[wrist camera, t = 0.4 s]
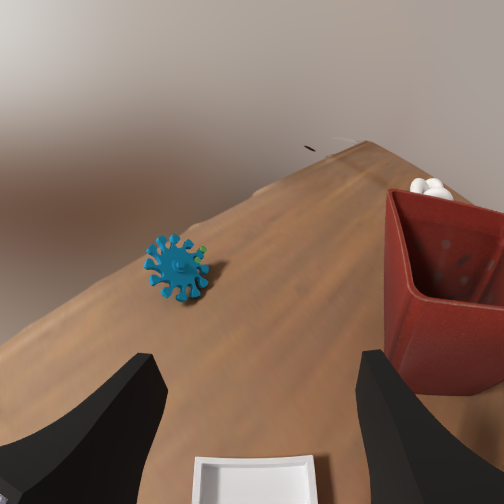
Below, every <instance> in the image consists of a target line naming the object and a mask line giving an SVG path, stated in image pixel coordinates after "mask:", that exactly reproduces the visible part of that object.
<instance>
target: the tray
mask: <svg viewBox="0 0 504 504" xmlns="http://www.w3.org/2000/svg"><path fill="white" fill-rule="evenodd" d="M192 504H318V500H317V490H316V479H315V470H314V460H313V455H308V456H296V457H282V458H254V459H236V458H208V457H195V467H194V480H193V494H192Z"/></svg>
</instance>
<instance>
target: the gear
mask: <svg viewBox="0 0 504 504" xmlns="http://www.w3.org/2000/svg"><path fill="white" fill-rule="evenodd" d="M179 240H180V237H179V236H178V235H175V234H173V235H172V236H171V237H170V242H171V246H170V249H168V248H166V247H165V243H166V241H167V239H166V237H165V236H160V237H158V239H156V242H157V244H158V245H159V247H160V249H161V255H159V254H158V253H157V247H156V246H155V245H154V244H152V245H151V246H150V247H149V248H148V249H147V250H146V252H147V253H148V254H149V255H151V256H153V257H154V258H155V259H156V260H157V262H158V264H159V265H155V263H154V262H153V260H152V259H150V258H148V259H147V260H146V261H145V264H144V268H145V269H146V270H155V271H157V272H159V273H160V274H161V276H162V277H158V276H157V275H152V276H150V277H149V281H150V284H151V286H155V285H156V284H158V283H160V282H167V283H169V285H170V287H165V288H164V289H162V290H161V292H160V293H161V294H162V295H163V296H164V297H165V298H168V297H169V296H171V294H172V290H173V289H174V288H175V287H179V288H180V290H181V292H180V293H179V294H178V295H177V296H176V300H177V301H179V302H185V301H186V300H187V295H186V287H187V285H188V286H190V288H191V291H190V297H191V298H196V297H198V296H200V295H201V294H200V291H199V290H198V289H197V287H196V285H195V281H194V279H196V280H197V281H198V286H199V287H200V288H201V289H202V288H204V287H206V286H207V284H208V283H209V282H208V281H207V280H206V279H204V278H202V277H201V276H200V275H199V273H198V272H197V270H196V269H198V270H199V271H200V273H201V274H203V275H205V274H207V273H208V271H209V266H208V265H201V264H199V263H200V262H201V259H203V258H204V255H203V254H204V253H205V252H206V251H207V249H206V247H205V246H201V247H200V248H199V249H198V250H197V251H196V253H187V252H186V249H191V248H192V247H193V246H194V244H193V243H192V241H191V240H189V239H188V240H186V241H185V242H184V245H183V247H181V248H177V247H176V245H175V244H176V243H177V242H178V241H179Z"/></svg>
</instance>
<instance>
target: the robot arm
mask: <svg viewBox="0 0 504 504" xmlns="http://www.w3.org/2000/svg"><path fill="white" fill-rule="evenodd" d="M355 391H356V401H357V411H358V418H359V423H360V428H361V432H362V437H363V442H364V447H365V452H366V457H367V462H368V467H369V474H370V487H371V504H504V472H502V471H501V470H499V469H497V468H496V467H494V466H493V465H491V464H489V463H488V462H486V461H485V460H484V459H482V458H481V457H479V456H478V455H477V454H475V453H474V452H473V451H471V450H470V449H469V448H467V447H466V446H465V445H464V444H462V443H461V442H460V441H459V440H458V439H457V438H455V437H454V436H453V435H452V434H451V433H450V432H449V431H448V430H447V429H446V428H445V427H444V426H443V425H442V424H441V423H440V422H439V421H438V420H437V419H436V418H435V417H434V416H433V415H432V414H431V413H430V412H429V411H428V409H427V408H426V407H425V406H424V405H423V404H422V403H421V401H420V400H419V399H418V398H417V397H416V395H415V394H414V393H413V392H412V390H411V389H410V388H409V387H408V386H407V384H406V383H405V382H404V380H403V379H402V378H401V376H400V375H399V374H398V372H397V371H396V370H395V368H394V367H393V366H392V364H391V363H390V361H389V360H388V359H387V357H386V356H385V354H384V353H383V351H381V350H380V349H379V350H371V351H363V352H362V358H361V364H360V369H359V374H358V379H357V384H356V389H355ZM167 394H168V389H167V386H166V384H165V382H164V380H163V378H162V375H161V373H160V371H159V369H158V366H157V364H156V362H155V360H154V357H153V355H152V354H146V353H137V354H136V355H135V356H133V357H132V358H131V359H130V360H129V361H128V362H127V363H126V364H125V365H124V366H122V367H121V368H120V369H119V370H118V371H117V372H116V373H115V374H114V375H113V376H112V377H111V378H109V379H108V380H107V381H106V382H105V383H104V384H103V385H102V386H101V387H100V388H98V389H97V390H96V391H95V392H94V393H93V394H91V395H90V396H89V397H88V398H87V399H85V400H84V401H83V402H82V403H80V404H79V405H78V406H77V407H75V408H74V409H73V410H71V411H70V412H69V413H67V414H66V415H64V416H63V417H61V418H60V419H58V420H57V421H55V422H54V423H52V424H50V425H48V426H47V427H45V428H43V429H41V430H39V431H38V432H36V433H34V434H32V435H30V436H27V437H25V438H23V439H21V440H18V441H16V442H13V443H10V444H7V445H4V446H0V494H1V495H0V504H137V497H138V491H139V486H140V481H141V477H142V472H143V468H144V465H145V462H146V459H147V456H148V453H149V451H150V448H151V445H152V443H153V440H154V437H155V435H156V432H157V429H158V426H159V424H160V421H161V418H162V415H163V412H164V408H165V404H166V399H167ZM2 495H3V496H4V497H5V498H4V497H3V496H2ZM7 499H8V500H7Z"/></svg>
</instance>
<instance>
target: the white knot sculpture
mask: <svg viewBox="0 0 504 504" xmlns="http://www.w3.org/2000/svg"><path fill="white" fill-rule="evenodd" d="M410 192H414V193H420V194H425V195H430V196H434V197H439V198H443V199H448V200H452V201H454V199H453V196H452V195H451V193H450V192H449V191H448V190H446V189H445V188H444V187H443V184H442V182H441V181H440V180H438V179H436V178H432V179H428V180H426V181H425V180H423V179H421V178H417V179H415V180H414V181H413V182H412V184H411V188H410Z"/></svg>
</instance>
